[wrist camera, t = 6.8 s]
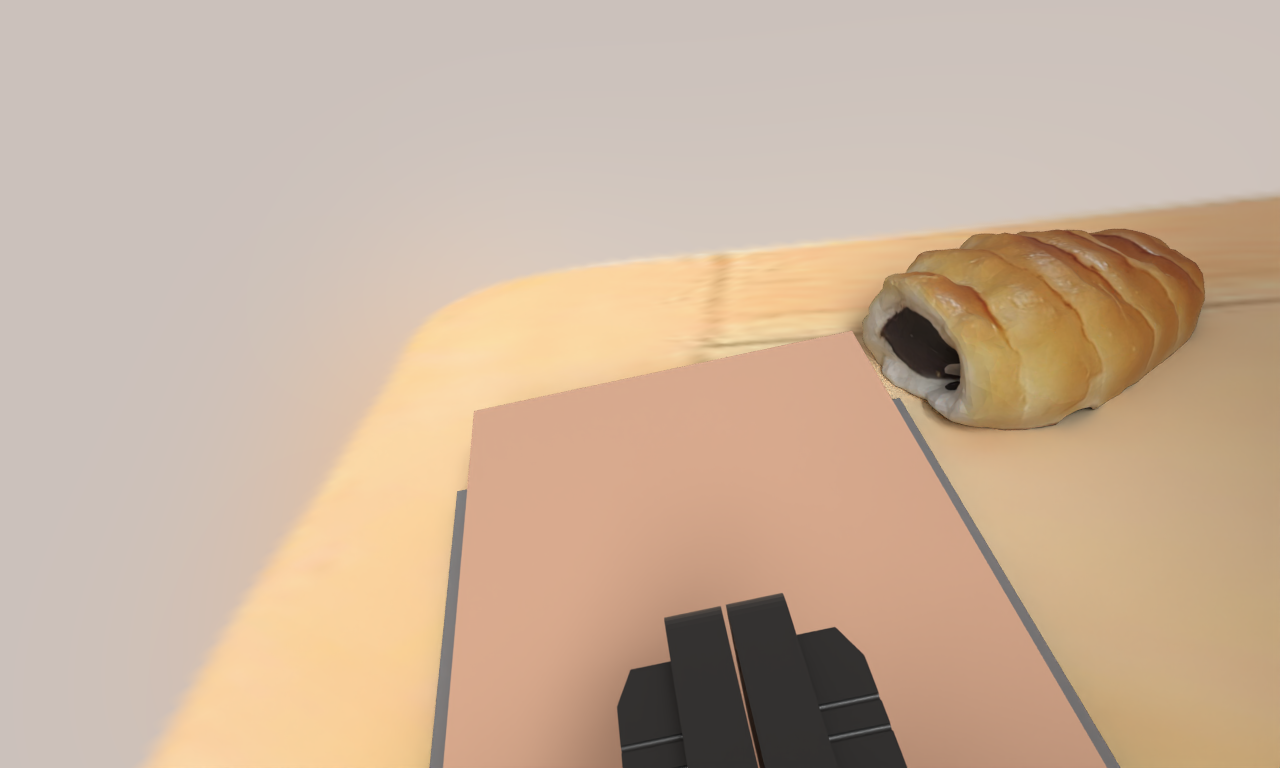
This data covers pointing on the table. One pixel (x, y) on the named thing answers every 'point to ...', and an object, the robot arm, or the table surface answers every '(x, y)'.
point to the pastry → (1033, 323)
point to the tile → (730, 561)
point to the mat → (1034, 633)
